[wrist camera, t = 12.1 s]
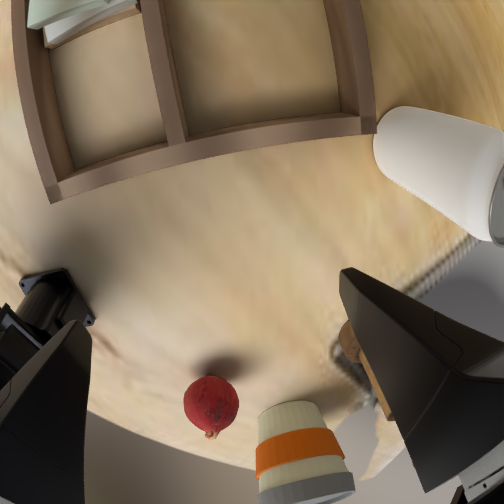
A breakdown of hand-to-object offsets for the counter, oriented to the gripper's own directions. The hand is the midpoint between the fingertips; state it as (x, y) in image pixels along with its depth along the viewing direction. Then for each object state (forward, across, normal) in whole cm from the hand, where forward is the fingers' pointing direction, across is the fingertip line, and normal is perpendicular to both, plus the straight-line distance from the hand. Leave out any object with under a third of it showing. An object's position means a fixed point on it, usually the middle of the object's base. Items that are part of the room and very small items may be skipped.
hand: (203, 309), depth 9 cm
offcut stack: (+13, +6, -16) cm, 22 cm away
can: (+13, -16, -1) cm, 21 cm away
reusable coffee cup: (+13, -3, +35) cm, 38 cm away
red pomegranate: (+13, +5, +21) cm, 25 cm away
